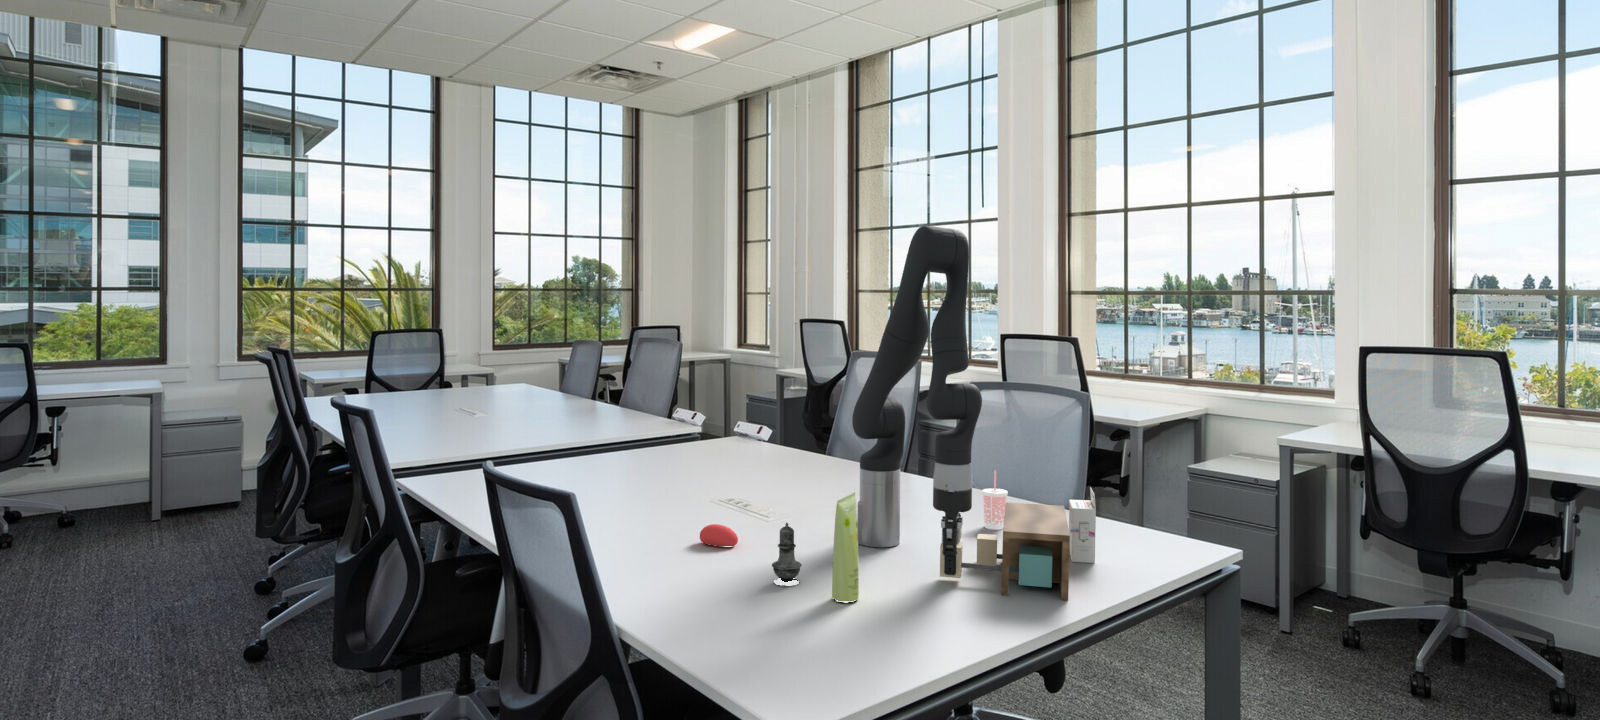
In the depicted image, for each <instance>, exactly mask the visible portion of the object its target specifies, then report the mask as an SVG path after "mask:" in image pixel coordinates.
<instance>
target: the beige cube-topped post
mask: <svg viewBox="0 0 1600 720" xmlns="http://www.w3.org/2000/svg"><path fill="white" fill-rule="evenodd" d="M998 560H1002V554H1001V553H998V534H989V533H978V534H977V537H976V564H986V565H998V564H997V563H998Z"/></svg>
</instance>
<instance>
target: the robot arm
mask: <svg viewBox="0 0 1600 720" xmlns="http://www.w3.org/2000/svg"><path fill="white" fill-rule="evenodd" d="M969 247H970V246H969V240H968V238H967V235H966V234H965V233H964V232H963V231H962V230H959V229H955V228H947V227H941V226H935V225H934V226H933V225H923V226H920V227H919V228H917V229H916V230H915V232H914V234H913V235H912V238H911V240H910V242H909V247H908V250H907V254H906V259H905V261H904V267H903V271H902V275H901V279H900V284H899V285H898V286H899V287H898V291H897V293H896V297H895V299H894V303H893V306H892V308H891V311H890V315H889V317H888V320H887V322H886V325H885V329H884V331H883V333H882V337H881V340H880V344H879V348H878V350H877V353H876V356H875V358H874V361H873V364H872V367H871V370H870V372H869V374H868V377H867V379H866V381H865V383H864V386H863V387H862V389H861V392H860V393H859V396H858V398H857V401H856V403H855V405H854V409H853V413H852V420H851V421H852V423H851V424H852V430H853V432H854V434H855V435H856V436H857V437H858V438H861V439H863V440H876V443H875V444H874V445H873V446H872V447H871V448H870V449H868V450H867V451H865V452H863V453H862V454H861V455H860V458H859V501H858V502H857V528H858V545H863V546H867V547H871V548H889V547H890V548H891V547H895V546H898V545H899V544H900V542H901V541H900V536H901V533H900V532H901V528H900V527H901V522H900V521H901V464H902V463H901V462H902V459H903V456H904V452H905V451H904V450H905V449H904V448H905V433H906V413H905V409H904V406H903V404H902V402H901V400H899V399H898V398H896V397H893V396H889V394H890V393H891V392H892V390H893V389H894V388H895V386H896V385H897V384H898V383H899V382H900V381H901V380H902V379H903V378H904V377H905V376H906V375H907V374H908V373H909V372H910V371H911V370H912V369H913V368H914V367H915V365H916V364H917V363H918V362H919V361H920V358H921V357H922V354H923V352H924V349H925V347H926V345H927V341H928V338H929V336H930V346H931V355H932V357H931V358H932V368H931V376H930V384H929V387H928V392H927V397H926V409H927V411H928V413H929V415H930V416H931V417H932V418H933V419H935V420H937V421H938V420H939V421H940V420H941V421H944V420H945V421H949V420H955V421H956V420H958V422H957V424H956V426H955V427H954V428H952V429H947V430H945V431H944V430H943V431H940V432H938V433H937V435H936V436H935V441H934V466H933V467H934V468H933V477H932V479H933V480H932V481H933V482H932V484H933V487H932V507H933V508H934V509H935V510H937V511H939V512H943V513H944V514H945V515H943V516H942V517H941V518H942V519H941V518H940V519H941V520H940V527H941V543H943V551H942V553H943V555H944V556H945V561H944V573H945V574H946V575H955V574H956V556H957V544H959V543H960V542H961V538H962V527H963V520H964V519H963V517H962V515H961V513H966V512H970V511H971V509H972V507H973V506H972V505H973V470H972V469H973V468H972V448H973V447H972V446H973V445H972V444H973V440H974V439H973V438H974V435H975V430H976V426H977V423H978V419H979V417H980V414H981V410H982V406H983V397H982V393H981V390H980V389H979V387H978V386H977V385H975V384H974V383H947V377H948V376H951V375H955V374H958V373H959V374H960V373H962V372H964V371H966V370H967V369H968V368H969V364H970V363H969V360H970V359H969V349H968V348H969V347H968V339H967V322H966V321H967V319H966V311H967V298H968V287H969V286H968V283H969V270H970V268H969V267H970V266H969V264H970V248H969ZM928 273H936V274H943V275H945V279H946V292H945V296H944V299H943V301H942V303H941V305H940V307H939V309H938V311H937V312H936V314H935V317H934V319H933V322H932V324H931V329H930V321H929V318H928V314H927V310H926V307H925V304H924V300H923V289H924V286H925V285H924V284H925V281H926V277H927V276H928ZM929 334H930V335H929ZM947 546H953V549H947Z"/></svg>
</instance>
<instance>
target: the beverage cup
mask: <svg viewBox="0 0 1600 720" xmlns="http://www.w3.org/2000/svg"><path fill="white" fill-rule="evenodd" d="M981 492H982V493H981V495H982V497H983V498H982V499H983V516H984V517H983V520H984V523H983V524H984V527H985V528H986V529H987V530H1003V525H1004V514H1005V503H1006V502H1007V496H1008V493H1009V492H1008V490H1006V489H1003V488H997V470H995V469H994V471H993V488H990V487H989V488H983V489H982V490H981Z"/></svg>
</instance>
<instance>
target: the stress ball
mask: <svg viewBox="0 0 1600 720" xmlns="http://www.w3.org/2000/svg"><path fill="white" fill-rule="evenodd" d="M699 540H700V541H701V543H702V542H703V543H702V544H704V543H705V544H704V545H706V544H710V545H716V546H715V547H717V546H734V547H735V546H736V545H738V541H739V537H738V535H737V533H735V531H734V530H733V529H731V528H730V527H729V526H727V525H723V524H715V523H714V524H708V525H705V526H704V527H703V528H702V529H701V530H700V532H699Z"/></svg>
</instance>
